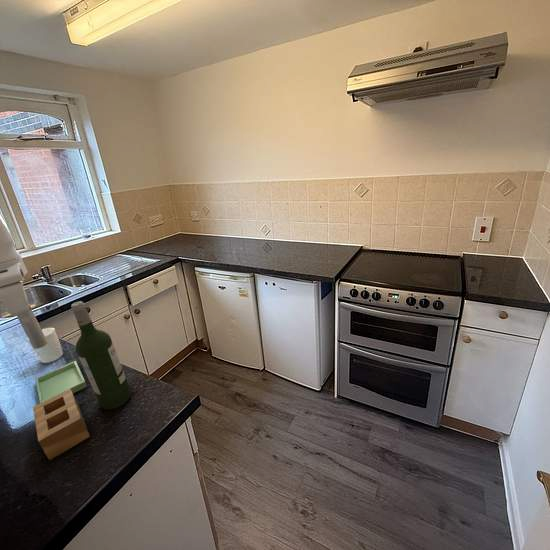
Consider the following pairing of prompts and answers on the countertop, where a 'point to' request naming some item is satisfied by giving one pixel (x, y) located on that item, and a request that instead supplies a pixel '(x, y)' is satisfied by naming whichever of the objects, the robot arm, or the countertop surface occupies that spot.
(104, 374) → the wine bottle
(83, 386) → the tray
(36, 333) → the canister
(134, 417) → the countertop surface
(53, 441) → the holder
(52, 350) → the white cup
